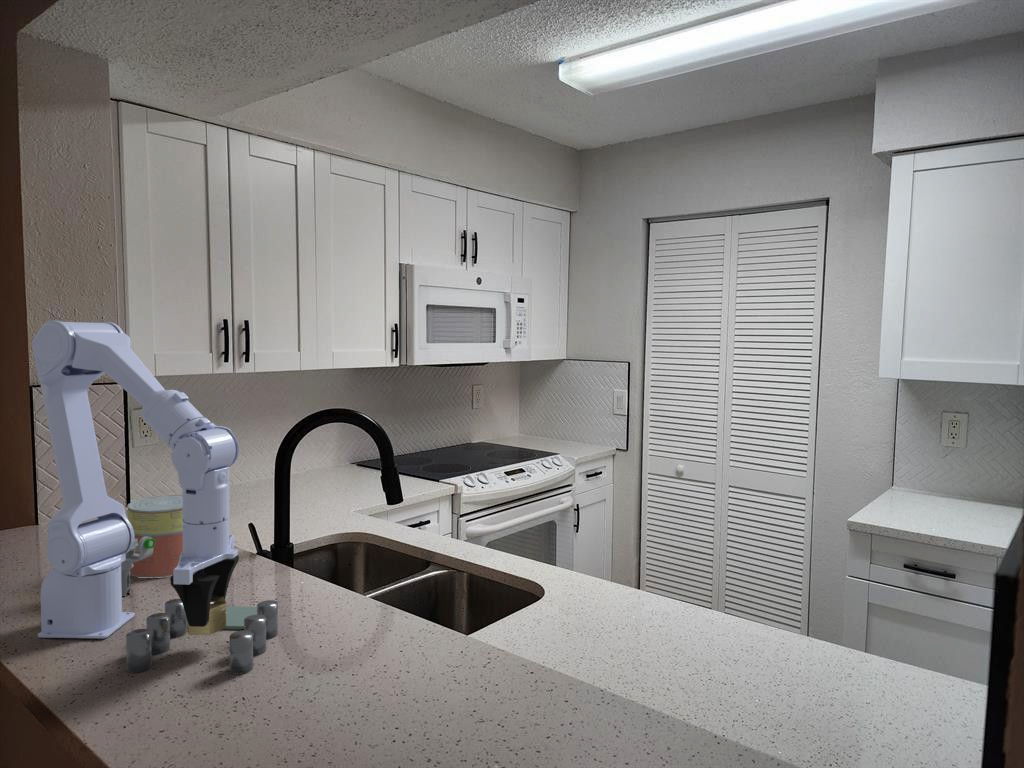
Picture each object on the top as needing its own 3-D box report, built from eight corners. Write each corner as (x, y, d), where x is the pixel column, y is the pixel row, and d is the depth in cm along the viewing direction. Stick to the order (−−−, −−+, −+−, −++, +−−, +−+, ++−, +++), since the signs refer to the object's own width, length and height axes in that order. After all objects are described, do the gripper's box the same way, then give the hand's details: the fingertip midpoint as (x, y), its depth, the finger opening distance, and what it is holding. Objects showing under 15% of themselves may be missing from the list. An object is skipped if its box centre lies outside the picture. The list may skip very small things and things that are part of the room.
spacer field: (122, 672, 85) (121, 638, 85) (170, 628, 98) (170, 598, 98) (248, 674, 86) (248, 640, 86) (280, 630, 99) (280, 600, 98)
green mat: (194, 628, 98) (194, 625, 98) (214, 609, 105) (214, 606, 105) (257, 629, 99) (257, 626, 99) (272, 610, 106) (272, 607, 106)
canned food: (210, 565, 125) (210, 501, 124) (150, 583, 115) (149, 514, 114) (175, 553, 131) (174, 492, 130) (115, 569, 121) (114, 504, 120)
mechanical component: (145, 601, 107) (144, 540, 107) (90, 595, 109) (89, 534, 109) (158, 594, 110) (158, 534, 110) (104, 588, 112) (103, 529, 112)
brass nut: (178, 634, 89) (178, 608, 89) (194, 619, 94) (194, 594, 94) (219, 635, 90) (219, 609, 89) (232, 620, 94) (232, 595, 94)
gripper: (213, 535, 84) (214, 642, 85) (255, 505, 98) (255, 596, 99) (155, 534, 83) (156, 640, 84) (206, 504, 98) (206, 595, 99)
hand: (206, 617), depth 92 cm, fingers closed on brass nut, 5 cm apart
